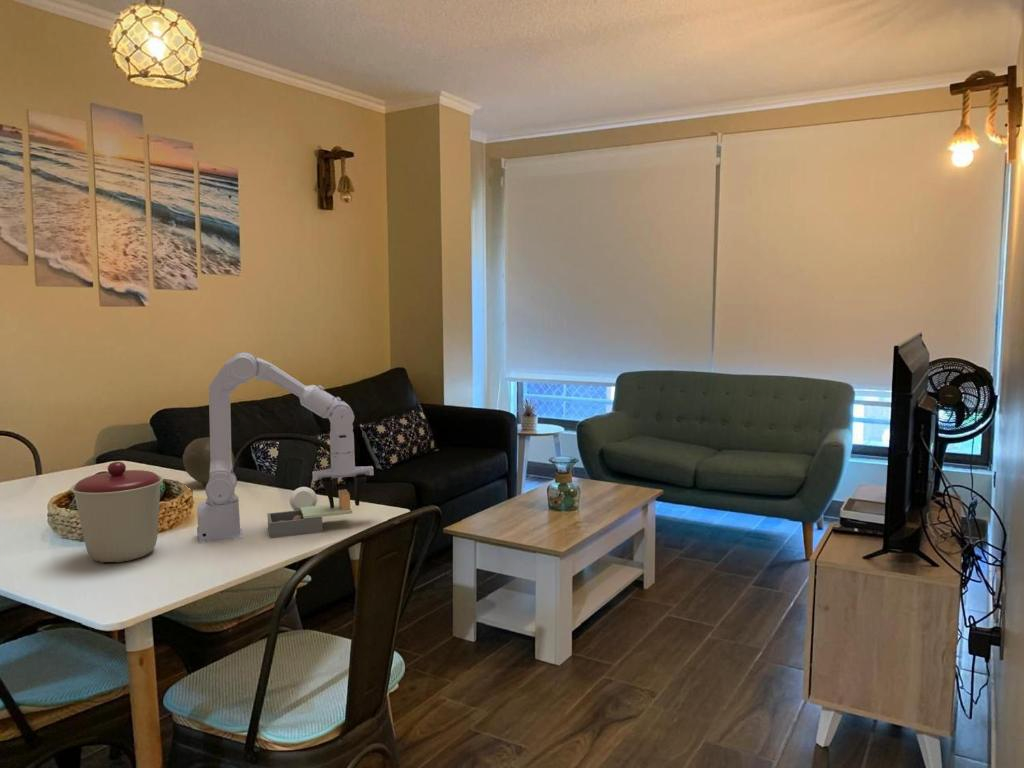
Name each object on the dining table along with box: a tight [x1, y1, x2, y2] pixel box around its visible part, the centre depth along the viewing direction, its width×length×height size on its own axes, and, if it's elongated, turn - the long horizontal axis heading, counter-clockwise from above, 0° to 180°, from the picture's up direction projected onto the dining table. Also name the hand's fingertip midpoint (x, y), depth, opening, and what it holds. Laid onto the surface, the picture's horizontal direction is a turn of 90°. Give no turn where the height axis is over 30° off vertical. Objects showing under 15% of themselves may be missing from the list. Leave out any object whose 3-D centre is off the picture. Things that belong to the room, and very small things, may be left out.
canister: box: [69, 461, 164, 563], centre depth 168 cm, size 18×18×21 cm
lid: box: [300, 489, 353, 519], centre depth 187 cm, size 11×8×4 cm
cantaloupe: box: [182, 436, 235, 486], centre depth 232 cm, size 14×14×15 cm
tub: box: [266, 510, 324, 539], centre depth 185 cm, size 12×9×4 cm
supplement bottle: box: [289, 486, 318, 511], centre depth 196 cm, size 7×7×13 cm
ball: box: [293, 515, 304, 520], centre depth 187 cm, size 3×3×3 cm
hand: (344, 506), depth 189 cm, fingers open, 5 cm apart
